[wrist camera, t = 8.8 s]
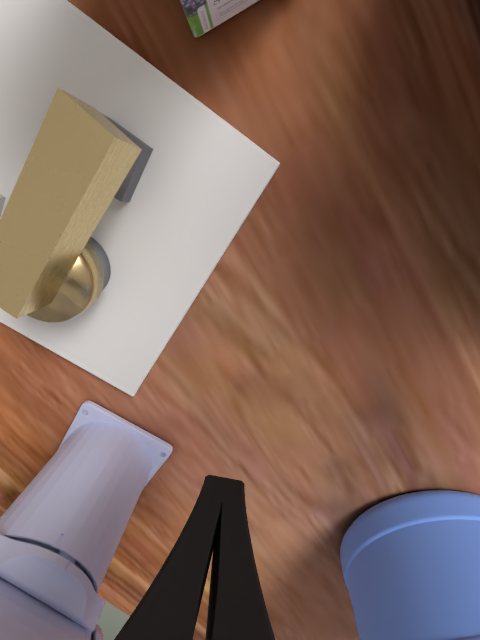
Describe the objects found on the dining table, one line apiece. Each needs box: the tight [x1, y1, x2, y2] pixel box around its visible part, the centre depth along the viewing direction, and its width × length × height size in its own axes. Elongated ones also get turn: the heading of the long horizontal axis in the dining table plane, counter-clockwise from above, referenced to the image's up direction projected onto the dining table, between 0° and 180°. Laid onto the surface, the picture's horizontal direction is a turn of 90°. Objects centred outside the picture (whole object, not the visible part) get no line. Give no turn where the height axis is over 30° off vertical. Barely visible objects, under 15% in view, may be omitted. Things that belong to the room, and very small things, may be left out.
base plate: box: [0, 0, 280, 397], centre depth 16 cm, size 18×18×2 cm
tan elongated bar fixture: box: [0, 87, 142, 323], centre depth 13 cm, size 5×11×4 cm, turn 139°
